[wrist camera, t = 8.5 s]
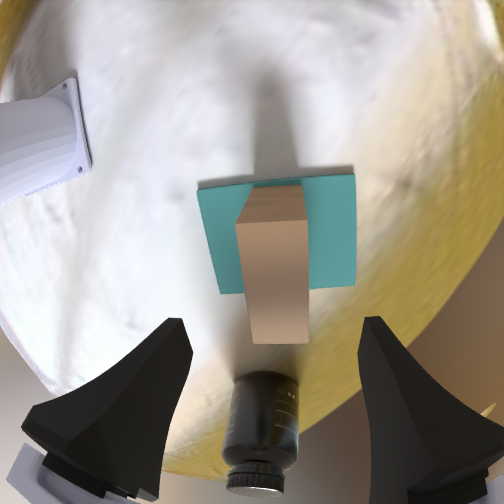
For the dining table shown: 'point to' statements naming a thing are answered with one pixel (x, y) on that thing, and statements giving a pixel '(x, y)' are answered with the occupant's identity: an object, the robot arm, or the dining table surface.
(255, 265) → the brown block
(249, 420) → the supplement bottle
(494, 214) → the dining table surface
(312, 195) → the teal mat
